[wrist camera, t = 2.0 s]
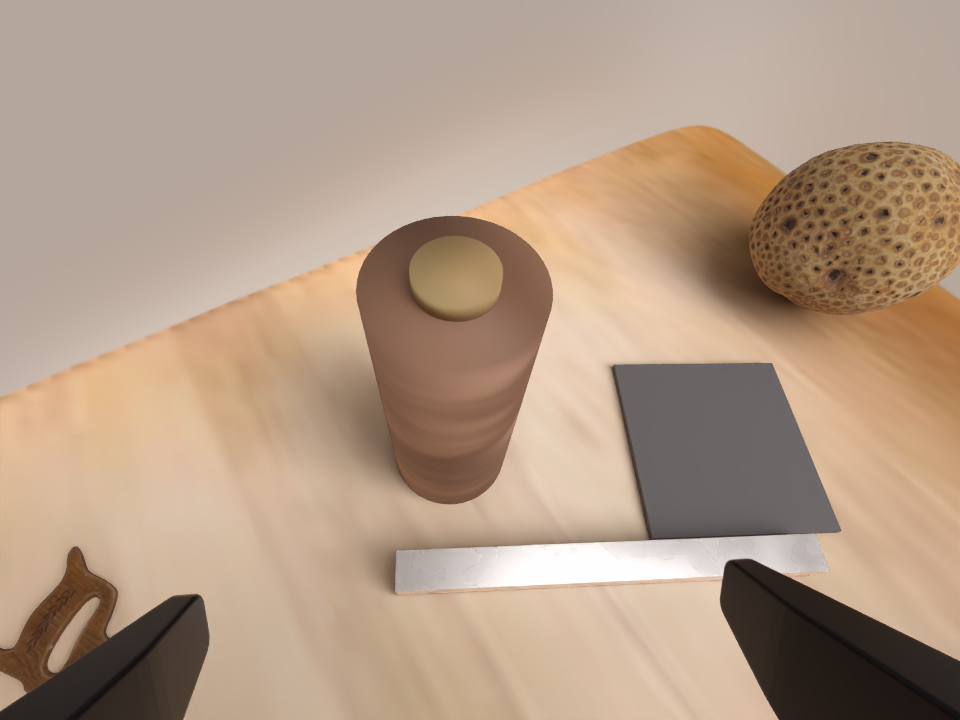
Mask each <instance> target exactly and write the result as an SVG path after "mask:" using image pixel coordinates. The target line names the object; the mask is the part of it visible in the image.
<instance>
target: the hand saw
mask: <svg viewBox="0 0 960 720" xmlns="http://www.w3.org/2000/svg"><path fill="white" fill-rule="evenodd" d="M94 597H98V598H99V599H100V604H99V606H98V608H97V610H96V611H95V613H94V614H93V616H92V617H91V619H90V620H89V622H88V623H87V625H86V626H85V628H84V629H83V631H82V633H81V634H80V636H79V638H78V640H77V642H76V644H75V646H74V648H73V650H72V652H71V655H70V657H69V659H68V661H67V663H66V664H65V666H64V667H63V669H64V668H66V667H67V666H69V665H70V664H72V663H73V662H75V661H76V660H78V659H79V658H81V657H82V656H84V655H85V654H87V653H88V652H90V651H91V650H93V649H94V648H96V647H97V646H99V645H100V644H102V643H103V642H105V641H106V640H108V639H109V638H108V637H107V635H106V627H107V625H108V623H109V620H110V618H111V616H112V613H113V611H114V608H115V605H116V601H117V597H118V592H117V589H116V588H115V587H114V586H113V585H112V584H110V583H109V582H107V581H106V580H104V579H102V578H100V577H98V576H96V575H94V574H92V573H91V572H90V571H89V570H88V569H87V566H86V563H85V560H84V557H83V554H82V552H81V551H80V549H79V548H78V547H73V548H72V549H71V550H70V552H69V554H68V559H67V569H66V573H65V575H64V578H63V579H62V581H61V582H60V584H59V585H58V586H57V587H56V588H55V589H54V591H53V592H52V593H51V594H50V595H49V596H48V597H47V598H46V599H45V600H44V601H43V602H42V603H41V604H40V605H39V606H38V607H37V609H36V610H35V611H34V612H33V613H32V615H31V616H30V618H29V619H28V621H27V623H26V625H25V627H24V629H23V631H22V634H21V636H20V638H19V640H18V642H17V644H16V646H15V647H14V648H12V649H6V650H5V649H1V648H0V671H1V672H4V673H6V674H8V675H10V676H12V677H14V678H16V679H18V680H19V681H21V682H22V683H23V685H24V690H25V692H27V693H29V692H30V691H32V690H33V689H35V688H36V687H38V686H39V685H41V684H42V683H44V682H45V681H46V680H48V679H49V678H51V677H52V676H54V675H55V674H57V673H51V672H50V671H49V670H48V667H47V662H48V659H49V656H50V653H51V652H52V650H53V648H54V646H55V644H56V643H57V641H58V639H59V637H60V636H61V634H62V633H63V631H64V630H65V628H66V627H67V625H68V624H69V623H70V621H71V620H72V619H73V617H74V616H75V615H76V613H77V612H78V611H79V610H80V609H81V608H82V606H83V605H84V604H85V603H86V602H88V601H89V600H90V599H92V598H94ZM63 669H62V670H63Z"/></svg>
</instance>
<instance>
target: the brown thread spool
mask: <svg viewBox="0 0 960 720" xmlns="http://www.w3.org/2000/svg"><path fill="white" fill-rule="evenodd" d="M356 294H357V303H358V307H359V311H360V315H361V319H362V323H363V327H364V331H365V335H366V339H367V343H368V347H369V351H370V355H371V359H372V363H373V367H374V371H375V376H376V380H377V384H378V388H379V392H380V396H381V400H382V404H383V408H384V412H385V416H386V420H387V424H388V428H389V432H390V436H391V440H392V444H393V448H394V452H395V456H396V460H397V464H398V468H399V471H400V473H401V475H402V477H403V479H404V481H405V482H406V483H407V485H408V486H409V487H410V488H411V489H412V490H413V491H414V492H416V493H417V494H418V495H420V496H421V497H423V498H425V499H427V500H430V501H433V502H436V503H441V504H458V503H463V502H466V501H469V500H472V499H474V498H476V497H478V496H479V495H481V494H482V493H484V492H485V491H486V490H487V489H488V488H489V487H490V486H491V485H492V484H493V483H494V481H495V480H496V478H497V476H498V474H499V472H500V470H501V467H502V464H503V460H504V457H505V454H506V451H507V448H508V445H509V441H510V438H511V435H512V432H513V429H514V426H515V422H516V419H517V416H518V413H519V410H520V407H521V403H522V400H523V397H524V394H525V391H526V388H527V384H528V381H529V378H530V375H531V372H532V368H533V365H534V362H535V359H536V356H537V353H538V349H539V346H540V343H541V340H542V337H543V334H544V330H545V327H546V324H547V321H548V318H549V315H550V311H551V307H552V301H553V289H552V283H551V278H550V276H549V273H548V270H547V268H546V266H545V264H544V262H543V261H542V259H541V258H540V256H539V255H538V253H537V252H536V251H535V250H534V249H533V248H532V247H531V246H530V245H529V244H528V243H527V242H526V241H524V240H523V239H522V238H521V237H519V236H518V235H516V234H515V233H513V232H511V231H510V230H508V229H506V228H504V227H502V226H499V225H497V224H494V223H491V222H488V221H485V220H481V219H476V218H471V217H461V216H444V217H434V218H429V219H424V220H420V221H416V222H413V223H410V224H408V225H405V226H403V227H401V228H399V229H397V230H396V231H394V232H392V233H390V234H389V235H388V236H386V237H385V238H383V239H382V240H381V241H380V242H379V243H378V244H377V245H376V246H375V247H374V248H373V249H372V250H371V252H370V253H369V254H368V256H367V257H366V259H365V260H364V262H363V264H362V267H361V269H360V271H359V275H358V279H357V288H356Z"/></svg>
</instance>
